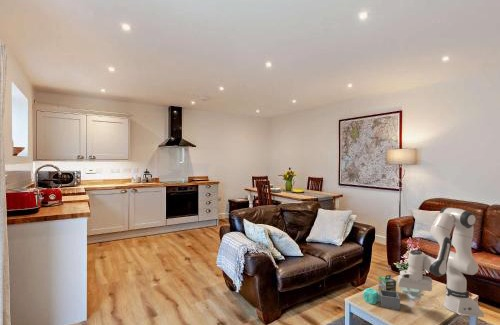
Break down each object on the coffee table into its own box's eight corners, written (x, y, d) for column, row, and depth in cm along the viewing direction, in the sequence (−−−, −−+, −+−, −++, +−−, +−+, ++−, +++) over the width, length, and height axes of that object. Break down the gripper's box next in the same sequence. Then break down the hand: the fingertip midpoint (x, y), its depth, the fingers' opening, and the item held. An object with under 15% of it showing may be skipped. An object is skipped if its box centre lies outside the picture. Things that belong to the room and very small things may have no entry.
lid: (418, 290, 195) (418, 286, 195) (425, 299, 181) (425, 295, 181) (399, 287, 199) (399, 283, 199) (404, 296, 185) (404, 291, 185)
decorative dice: (362, 300, 202) (363, 289, 202) (369, 297, 206) (369, 287, 206) (372, 305, 195) (372, 294, 195) (379, 302, 200) (379, 291, 199)
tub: (396, 302, 199) (396, 291, 199) (399, 310, 190) (400, 298, 190) (378, 299, 203) (379, 289, 203) (381, 307, 193) (381, 296, 193)
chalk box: (388, 289, 218) (388, 271, 218) (396, 295, 209) (396, 276, 209) (377, 290, 217) (378, 272, 216) (385, 296, 208) (386, 277, 207)
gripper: (430, 275, 185) (429, 295, 185) (397, 270, 191) (396, 290, 191) (434, 279, 179) (433, 299, 179) (399, 274, 184) (398, 294, 185)
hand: (413, 294), depth 185 cm, fingers closed on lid, 3 cm apart
